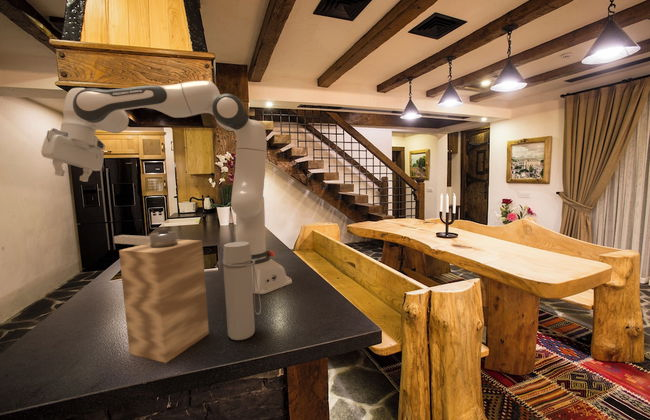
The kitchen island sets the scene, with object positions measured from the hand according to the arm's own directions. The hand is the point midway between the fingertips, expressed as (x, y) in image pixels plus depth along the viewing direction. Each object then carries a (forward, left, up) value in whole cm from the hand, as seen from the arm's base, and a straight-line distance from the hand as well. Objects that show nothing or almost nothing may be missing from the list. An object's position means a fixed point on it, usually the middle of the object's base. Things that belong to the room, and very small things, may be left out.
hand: (72, 178), depth 99 cm
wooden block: (-16, +45, -44) cm, 65 cm away
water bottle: (-33, +54, -44) cm, 77 cm away
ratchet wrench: (-13, +40, -18) cm, 46 cm away
